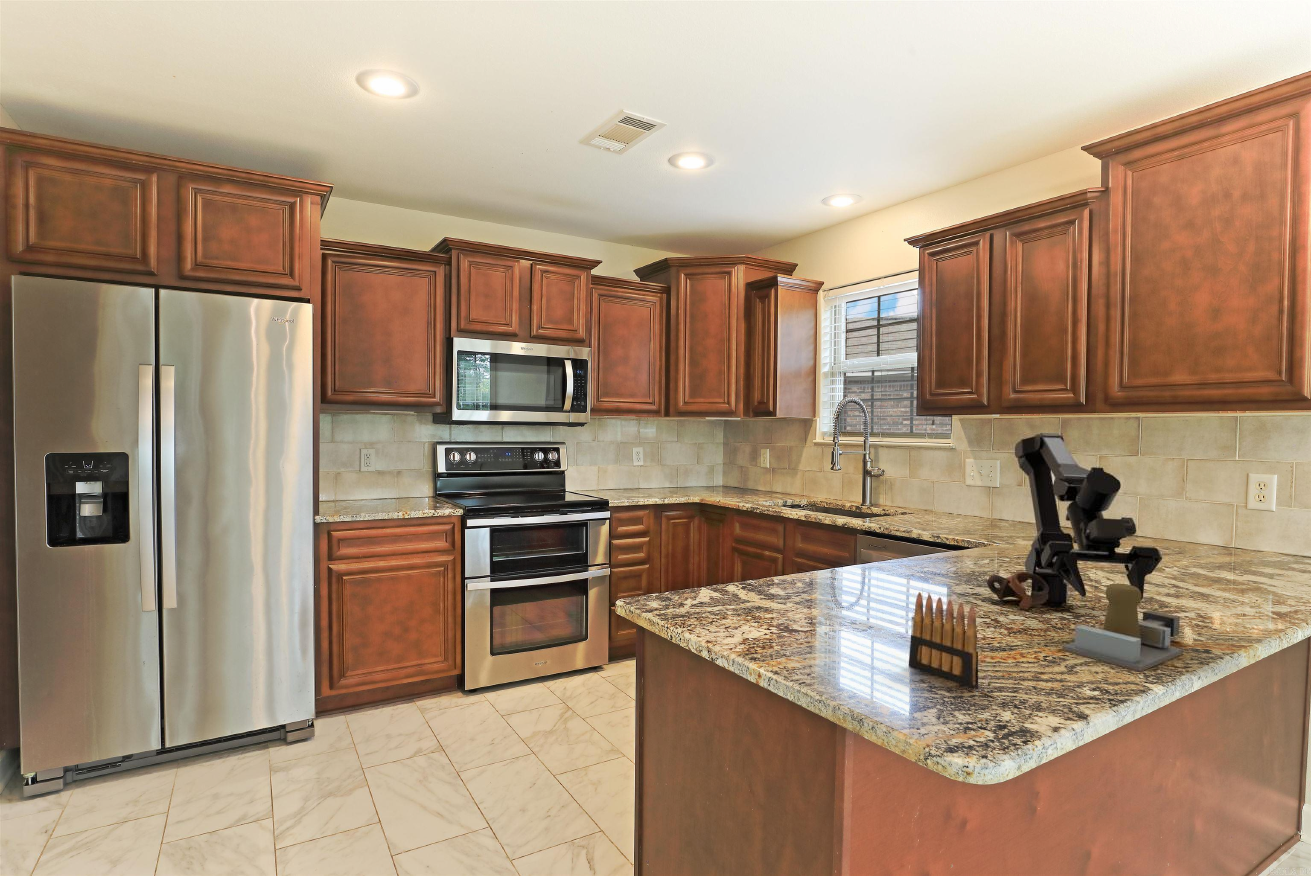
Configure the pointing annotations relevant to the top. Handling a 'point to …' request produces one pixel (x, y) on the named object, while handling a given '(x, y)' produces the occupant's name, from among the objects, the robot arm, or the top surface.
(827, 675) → the top surface
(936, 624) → the ammunition clip
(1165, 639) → the vise jaw
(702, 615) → the top surface
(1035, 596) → the brown twisted loop knot
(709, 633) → the top surface
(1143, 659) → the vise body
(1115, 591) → the cork
